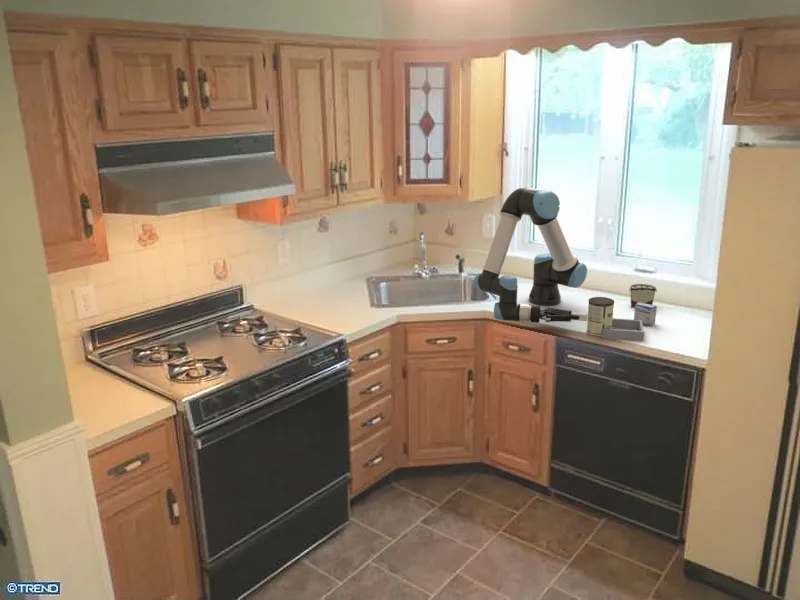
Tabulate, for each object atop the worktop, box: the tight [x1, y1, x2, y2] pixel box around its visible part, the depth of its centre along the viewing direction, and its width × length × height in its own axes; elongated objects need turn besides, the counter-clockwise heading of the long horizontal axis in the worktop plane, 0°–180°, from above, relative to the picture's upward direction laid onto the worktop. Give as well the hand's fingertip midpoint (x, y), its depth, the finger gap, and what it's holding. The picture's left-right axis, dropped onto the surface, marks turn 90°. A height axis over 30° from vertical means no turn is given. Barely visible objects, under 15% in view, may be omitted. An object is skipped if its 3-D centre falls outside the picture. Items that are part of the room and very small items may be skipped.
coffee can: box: [586, 296, 615, 337], centre depth 286 cm, size 10×10×14 cm
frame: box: [601, 317, 645, 342], centre depth 285 cm, size 16×15×4 cm
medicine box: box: [633, 302, 657, 327], centre depth 296 cm, size 8×4×9 cm, turn 45°
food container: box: [628, 283, 658, 309], centre depth 320 cm, size 12×6×10 cm, turn 84°
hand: (587, 317), depth 287 cm, fingers closed
